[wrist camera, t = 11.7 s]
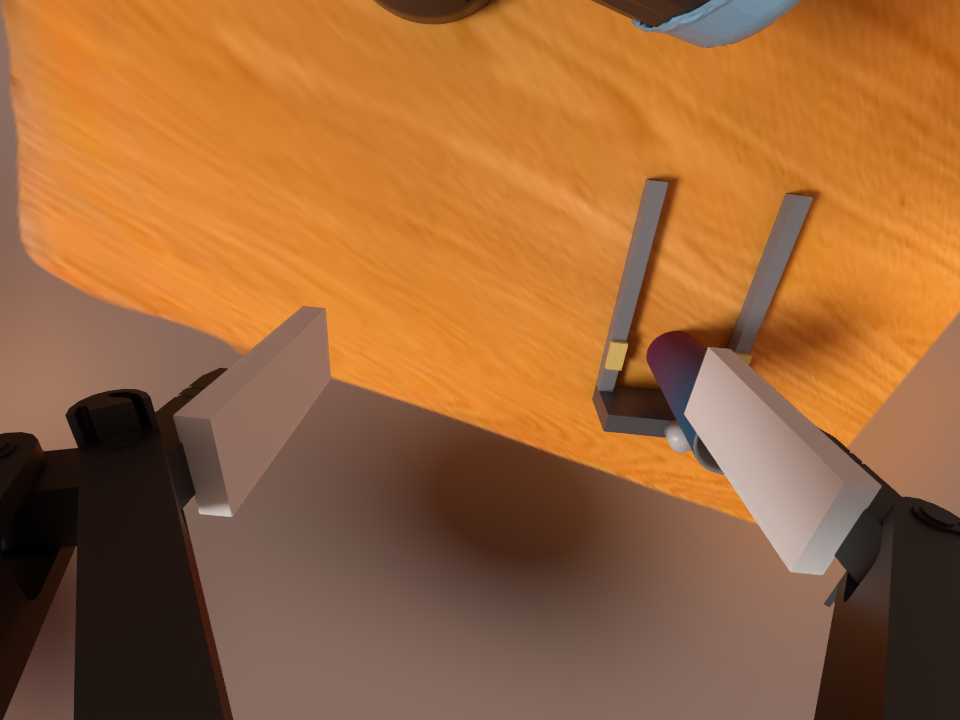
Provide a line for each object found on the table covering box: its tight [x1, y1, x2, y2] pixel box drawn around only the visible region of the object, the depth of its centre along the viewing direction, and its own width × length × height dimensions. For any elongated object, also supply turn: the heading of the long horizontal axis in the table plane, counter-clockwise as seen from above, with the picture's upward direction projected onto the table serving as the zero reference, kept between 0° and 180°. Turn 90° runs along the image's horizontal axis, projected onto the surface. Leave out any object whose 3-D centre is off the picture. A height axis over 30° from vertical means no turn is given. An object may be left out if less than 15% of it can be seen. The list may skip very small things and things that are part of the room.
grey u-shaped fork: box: [592, 179, 814, 453], centre depth 40 cm, size 23×14×8 cm, turn 175°
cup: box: [647, 332, 725, 475], centre depth 39 cm, size 7×7×15 cm
